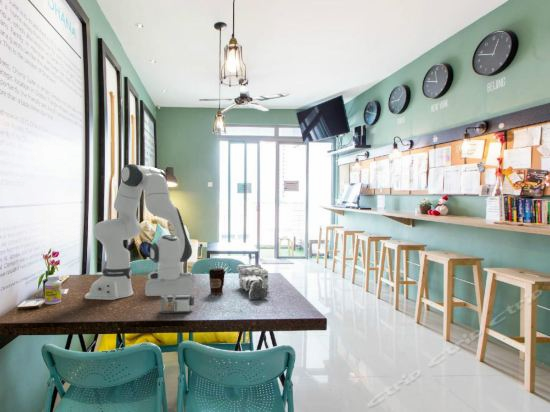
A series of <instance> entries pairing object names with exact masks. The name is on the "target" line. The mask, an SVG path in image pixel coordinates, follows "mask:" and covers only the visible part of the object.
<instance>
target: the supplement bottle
mask: <svg viewBox="0 0 550 412" xmlns="http://www.w3.org/2000/svg"><path fill="white" fill-rule="evenodd" d="M46 279H47V281H45V283H44V304H45V305H56V304H57V305H58V304H60V303H61V302H62V281H61V280H59V279H60V275H58V274H50V275H47V277H46Z"/></svg>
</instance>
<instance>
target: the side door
mask: <svg viewBox="0 0 550 412" xmlns="http://www.w3.org/2000/svg"><path fill="white" fill-rule="evenodd" d="M174 311H189V299H175V300H174ZM189 312H190V311H189Z"/></svg>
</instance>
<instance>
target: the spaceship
mask: <svg viewBox="0 0 550 412" xmlns="http://www.w3.org/2000/svg"><path fill="white" fill-rule="evenodd" d="M236 269H237V272H238V279H239V284H238V285H239V287H240V288H241V289H244V290H245V292H248V298H249V299H250V300H253V301H256V300H258V299H259V297H260V298H263V299H265V298H267V296H268V295H269V291H270V284H269V271H268V270H267V269H264V268H263V267H262V265H261V264H250V263H249V264H247V263H246V264H237V266H236Z"/></svg>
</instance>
